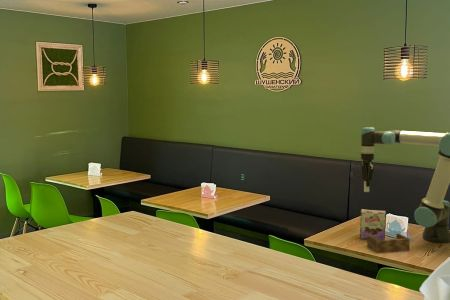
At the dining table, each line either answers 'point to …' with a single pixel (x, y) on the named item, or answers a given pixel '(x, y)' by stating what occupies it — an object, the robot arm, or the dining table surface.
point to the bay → (389, 244)
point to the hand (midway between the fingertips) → (366, 191)
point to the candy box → (372, 224)
